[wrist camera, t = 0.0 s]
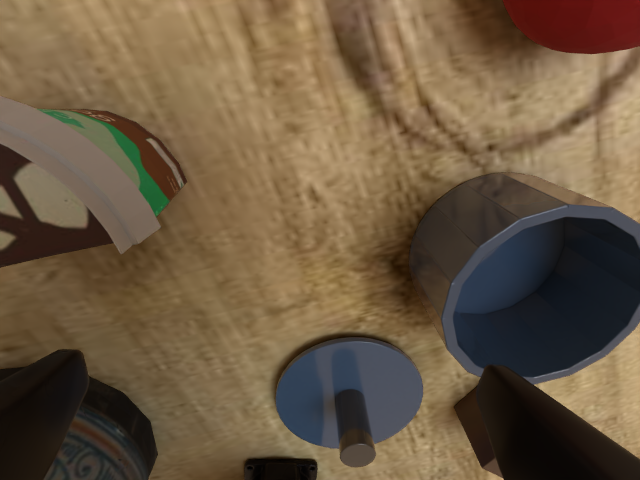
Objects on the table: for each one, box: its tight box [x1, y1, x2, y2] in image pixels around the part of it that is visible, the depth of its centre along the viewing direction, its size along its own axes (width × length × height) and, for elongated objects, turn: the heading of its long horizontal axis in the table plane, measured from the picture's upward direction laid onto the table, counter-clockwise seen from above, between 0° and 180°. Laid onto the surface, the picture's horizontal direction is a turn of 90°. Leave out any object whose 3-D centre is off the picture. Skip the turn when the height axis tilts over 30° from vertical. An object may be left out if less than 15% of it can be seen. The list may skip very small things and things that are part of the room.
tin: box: [409, 172, 640, 385], centre depth 21 cm, size 11×11×6 cm
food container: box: [0, 96, 187, 267], centre depth 15 cm, size 12×6×10 cm, turn 101°
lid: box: [276, 337, 423, 467], centre depth 26 cm, size 12×12×6 cm
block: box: [454, 387, 503, 478], centre depth 27 cm, size 4×4×5 cm
